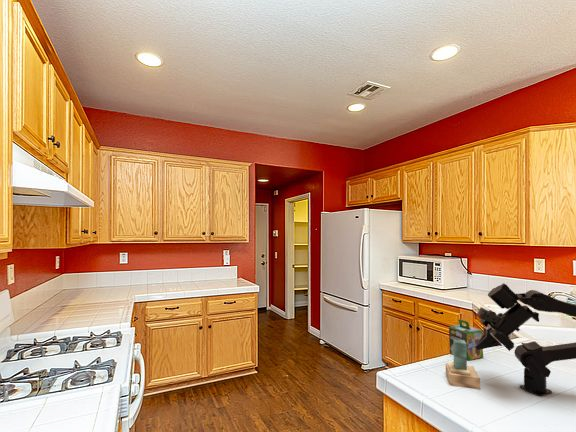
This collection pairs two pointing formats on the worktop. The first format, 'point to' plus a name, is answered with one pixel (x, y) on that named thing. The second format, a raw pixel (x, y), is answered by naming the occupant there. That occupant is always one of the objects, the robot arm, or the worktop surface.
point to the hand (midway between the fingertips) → (476, 348)
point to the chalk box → (466, 339)
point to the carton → (464, 378)
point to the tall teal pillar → (459, 358)
